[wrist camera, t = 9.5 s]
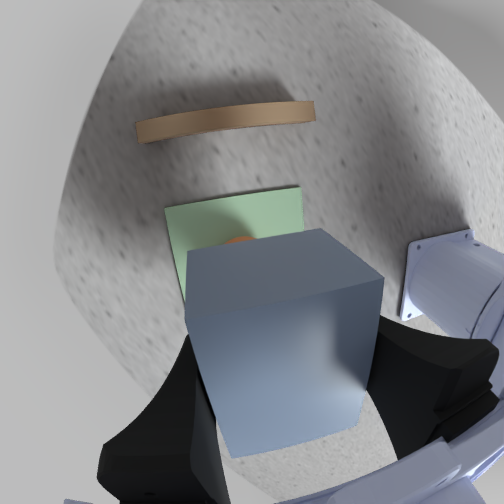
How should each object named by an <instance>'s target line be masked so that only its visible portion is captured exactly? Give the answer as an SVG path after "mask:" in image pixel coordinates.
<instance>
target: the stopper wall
mask: <svg viewBox="0 0 504 504" xmlns="http://www.w3.org/2000/svg"><path fill="white" fill-rule="evenodd" d="M310 121H316V119H315V110H314V101H291V102H271V103H257V104H245V105H235V106H226V107H218V108H210V109H203V110H196V111H190V112H184V113H178V114H172V115H167V116H162V117H157V118H152V119H147V120H143V121H138V122H135V124H136V131H137V139H138V143H145V144H146V143H151V142H156V141H161V140H166V139H171V138H176V137H182V136H188V135H194V134H200V133H207V132H214V131H221V130H229V129H237V128H246V127H256V126H267V125H279V124H294V123H305V122H310Z"/></svg>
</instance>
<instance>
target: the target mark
mask: <svg viewBox="0 0 504 504" xmlns="http://www.w3.org/2000/svg"><path fill="white" fill-rule="evenodd" d="M164 211H165V216H166V221H167V226H168V231H169V236H170V241H171V245H172V250H173V255H174V259H175V264H176V268H177V272H178V277H179V281H180V285H181V289H182V293H183V297H184V301H185V287H186V265H187V251H189V250H194V249H200V248H206V247H212V246H217V245H223V244H225V243H226V242H228V241H229V240H231V239H233V238H236V237H242V236H248V237H253V238H257V239H259V238H265V237H270V236H276V235H283V234H289V233H295V232H301V231H304V221H303V207H302V193H301V187H295V188H287V189H279V190H272V191H264V192H257V193H250V194H243V195H237V196H230V197H224V198H218V199H212V200H206V201H200V202H194V203H188V204H183V205H177V206H172V207H166V208H164Z"/></svg>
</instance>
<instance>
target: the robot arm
mask: <svg viewBox="0 0 504 504" xmlns="http://www.w3.org/2000/svg"><path fill="white" fill-rule="evenodd" d="M417 246H418V248H417ZM422 314H425V315H426V316H427V317H428V318H429V319H430V320H432V321H433V322H434V323H435V324H436V325H437V326H439V327H440V328H441V329H442V330H443V331H444V332H445V333H447V334H448V335H449V336H450V337H446V336H441V335H436V334H431V333H427V332H423V331H420V330H416V329H413V328H410V327H407V326H404V325H402V324H399V323H397V322H394V321H392V320H390V319H387V318H385V317H383V316H381V315H380V318H379V325H378V331H377V337H376V343H375V349H374V354H373V359H372V364H371V369H370V374H369V379H368V383H367V388H366V390H367V392H368V393H369V395H370V397H371V398H372V400H373V402H374V404H375V406H376V408H377V410H378V412H379V414H380V416H381V419H382V421H383V423H384V425H385V427H386V430H387V432H388V435H389V437H390V440H391V442H392V445H393V447H394V450H395V453H396V456H397V459H398V461H396V462H394V463H392V464H390V465H387V466H385V467H383V468H381V469H379V470H376V471H374V472H372V473H369V474H367V475H365V476H362V477H360V478H357V479H355V480H352V481H349V482H347V483H344V484H341V485H338V486H335V487H332V488H329V489H326V490H323V491H320V492H317V493H314V494H310V495H307V496H303V497H299V498H296V499H292V500H288V501H283V502H279V503H275V504H486V503H485V502H484V500H483V498H482V497H481V496H480V494H479V493H478V491H477V490H476V488H475V487H474V485H473V484H472V482H474V481H475V480H476V479H477V478H478V477H479V476H481V475H482V474H483V473H484V472H485V471H487V470H488V469H489V468H490V467H491V466H492V465H493V464H494V463H495V462H497V461H498V460H499V459H500V458H501V457H502V456H503V455H504V254H503V253H501V252H499V251H497V250H495V249H493V248H491V247H489V246H487V245H485V244H483V243H480V242H478V241H476V240H474V230H473V229H467V230H463V231H458V232H454V233H449V234H445V235H440V236H436V237H431V238H427V239H422V240H418V241H413V242H411V243H410V244H409V247H408V257H407V267H406V276H405V284H404V291H403V298H402V305H401V311H400V319H401V320H402V321H406V320H408V319H411V318H414V317H416V316H419V315H422ZM97 480H98V482H99V483H100V484H101V485H102V486H103V488H105V489H106V490H107V491H108V492H109V493H111V494H112V495H113V496H114V497H116V498H117V499H118V500H120V504H231V502H230V499H229V495H228V490H227V485H226V481H225V476H224V472H223V467H222V462H221V456H220V451H219V445H218V439H217V431H216V416H215V414H214V411H213V408H212V405H211V402H210V400H209V397H208V394H207V391H206V388H205V385H204V382H203V379H202V376H201V373H200V370H199V366H198V363H197V360H196V357H195V354H194V350H193V347H192V344H191V340H190V337H189V334H188V335H187V336H186V338H185V341H184V343H183V346H182V348H181V351H180V353H179V355H178V357H177V359H176V361H175V363H174V366H173V368H172V369H171V371H170V373H169V375H168V376H167V378H166V380H165V382H164V383H163V385H162V386H161V388H160V389H159V391H158V392H157V394H156V395H155V397H154V398H153V399H152V400H151V402H150V403H149V404H148V405H147V407H146V408H145V409H144V410H143V411H142V412H141V414H140V415H139V416H138V417H137V418H136V419H135V420H134V421H133V422H132V423H130V424H129V425H128V426H127V427H126V428H125V429H124V430H122V431H121V432H120V433H119V434H117V435H116V436H115V437H113V438H112V439H110V440H109V441H108V442H106V443H105V444H103V448H102V451H101V454H100V459H99V465H98V472H97ZM64 504H92V503H87V502H81V501H75V500H70V499H65V500H64Z"/></svg>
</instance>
